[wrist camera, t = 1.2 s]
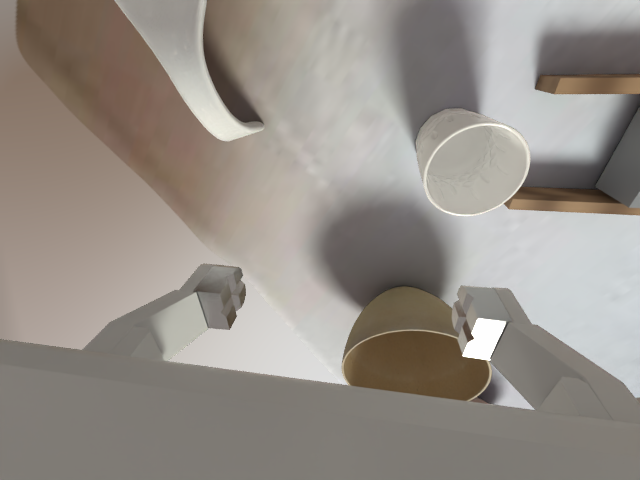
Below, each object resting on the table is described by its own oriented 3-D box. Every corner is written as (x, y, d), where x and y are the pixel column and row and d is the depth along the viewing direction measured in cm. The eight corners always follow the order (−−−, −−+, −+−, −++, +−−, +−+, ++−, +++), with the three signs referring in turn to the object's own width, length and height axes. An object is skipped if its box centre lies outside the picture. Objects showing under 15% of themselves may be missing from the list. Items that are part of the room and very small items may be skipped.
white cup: (422, 185, 34) (439, 228, 26) (399, 124, 31) (410, 151, 23) (494, 156, 31) (538, 195, 23) (476, 85, 28) (521, 101, 20)
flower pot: (325, 303, 48) (314, 369, 38) (408, 239, 39) (421, 305, 29) (399, 353, 53) (406, 424, 43) (489, 307, 43) (525, 385, 34)
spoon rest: (71, -124, 24) (-25, -180, 18) (181, -215, 21) (106, -319, 15) (211, 146, 36) (180, 165, 30) (296, 117, 32) (280, 133, 26)
